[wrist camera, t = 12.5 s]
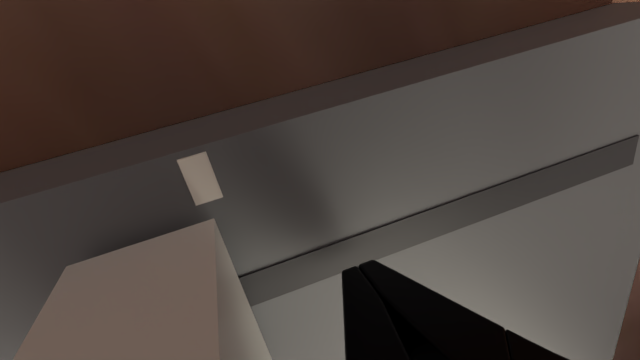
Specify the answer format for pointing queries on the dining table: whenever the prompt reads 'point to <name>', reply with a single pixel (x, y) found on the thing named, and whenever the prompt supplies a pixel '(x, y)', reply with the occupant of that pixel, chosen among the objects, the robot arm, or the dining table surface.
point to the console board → (380, 191)
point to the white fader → (150, 305)
